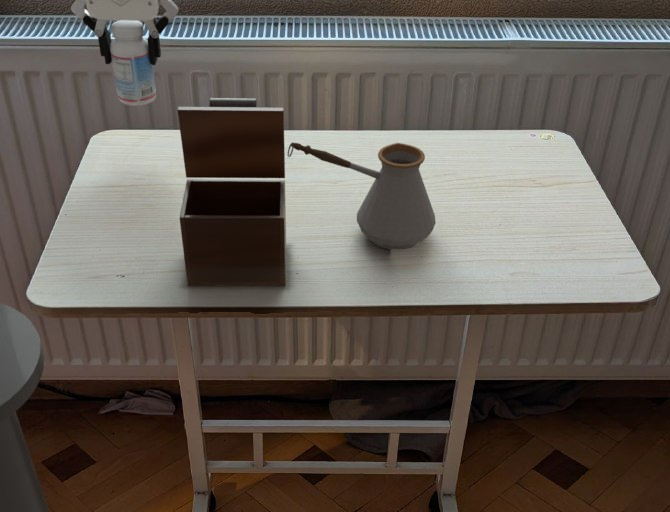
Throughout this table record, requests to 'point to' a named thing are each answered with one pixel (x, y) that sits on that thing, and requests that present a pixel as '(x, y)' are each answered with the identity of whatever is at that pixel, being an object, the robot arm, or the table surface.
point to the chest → (234, 232)
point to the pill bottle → (132, 64)
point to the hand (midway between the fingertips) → (131, 60)
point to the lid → (232, 140)
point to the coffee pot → (390, 196)
